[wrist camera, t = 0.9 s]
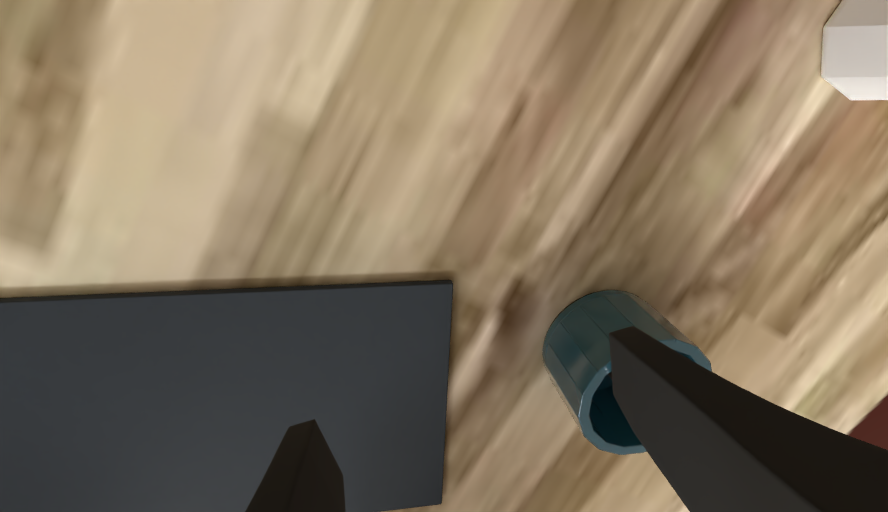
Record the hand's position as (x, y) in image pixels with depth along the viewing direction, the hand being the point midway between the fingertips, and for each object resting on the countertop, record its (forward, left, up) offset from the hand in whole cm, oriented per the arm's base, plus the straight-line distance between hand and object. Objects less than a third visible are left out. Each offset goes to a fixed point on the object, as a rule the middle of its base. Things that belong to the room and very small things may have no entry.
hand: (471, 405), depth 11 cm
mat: (-9, +10, -10) cm, 17 cm away
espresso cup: (-6, -9, -10) cm, 15 cm away
